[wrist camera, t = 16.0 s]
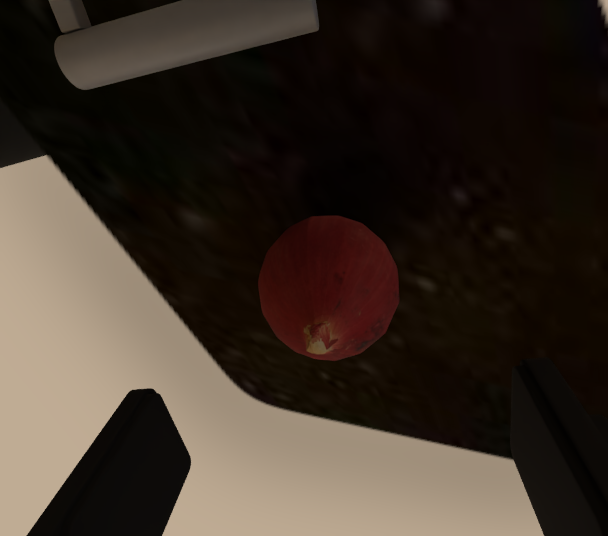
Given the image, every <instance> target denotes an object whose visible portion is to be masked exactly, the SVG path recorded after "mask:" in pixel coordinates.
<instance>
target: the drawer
mask: <svg viewBox="0 0 608 536" xmlns="http://www.w3.org/2000/svg"><path fill="white" fill-rule="evenodd" d="M49 3H50V5H51V8H52V10H53V12H54V15H55V17H56V20H57V22H58V24H59V27H60V29H61V31H62V32H63V33H68V34H65V35H62V36H59V37H58V38H57V39H56V41H55V45H54V50H55V55H56V59H57V61H58V64H59V66H60V68H61V70H62V72H63V73H64V75H65V76H66V77H67V79H68V80H69V81H70V82H71V83H72V84H73V85H75V86H76V87H78V88H80V89H83V90H88V89H92V88H96V87H100V86H104V85H108V84H112V83H115V82H119V81H123V80H127V79H131V78H135V77H139V76H143V75H147V74H151V73H155V72H158V71H162V70H166V69H170V68H174V67H178V66H182V65H186V64H190V63H194V62H197V61H201V60H205V59H209V58H213V57H217V56H221V55H225V54H229V53H233V52H236V51H240V50H244V49H248V48H252V47H256V46H260V45H264V44H268V43H272V42H275V41H279V40H283V39H287V38H291V37H295V36H299V35H303V34H307V33H311V32H314V31H318V30H319V21H318V13H317V6H316V0H182V1H179V2H175V3H172V4H168V5H165V6H161V7H158V8H155V9H151V10H148V11H144V12H141V13H137V14H134V15H130V16H127V17H124V18H120V19H117V20H113V21H110V22H106V23H103V24H99V25H96V26H93V27H91V24H90V21H89V19H88V16H87V14H86V11H85V8H84V6H83V3H82V0H49Z"/></svg>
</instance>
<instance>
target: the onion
mask: <svg viewBox="0 0 608 536" xmlns="http://www.w3.org/2000/svg"><path fill="white" fill-rule="evenodd" d="M258 287H259V294H260V301H261V308H262V313H263V315H264V317H265V318H266V320H267V321H268V323H269V325H270V326H271V328H272V330H273V331H274V333H275V335H276V336H277V338H279V339H280V340H281V341H282V342H284V343H285V344H286V345H287V346H289V347H290V348H291V349H292V350H294V351H295V352H297V353H300V354H303V355H306V356H309V357H311V358H314V359H321V360H332V361H336V360H340V359H343V358H347V357H350V356H353V355H357V354H360V353H362V352H363V351H364V350H365V349H366V348H368V347H369V346H370V345H371V344H373V343H374V342H375V341H376V340H378V339H379V338H380V337H381V336H382V335H384V334H385V333H386V330H387V328H388V326H389V323H390V321H391V319H392V317H393V315H394V312H395V310H396V308H397V306H398V303H399V284H398V271H397V266H396V264H395V262H394V260H393V258H392V256H391V254H390V252H389V250H388V249H387V247H386V245H385V243H384V242H383V241H382V240H381V239H380V238H379V237H378V236H376V235H375V234H374V233H373V232H372V231H371V230H369V229H368V228H367V227H366V226H365V225H364V224H363V223H360V222H357V221H354V220H351V219H348V218H344V217H341V216H338V215H335V216H311V217H309V218H307V219H305V220H303V221H301V222H299V223H297V224H294V225H292V226H290V227H288V229H287V230H286V231H285V232H284V233H283V234H282V235H281V236H280V237H279V238H278V240H277V241H276V242H275V243H274V244H273V245H272V246H271V248H270V249H269V250H268V251H267V253H266V256H265V259H264V262H263V265H262V268H261V272H260V275H259V280H258Z"/></svg>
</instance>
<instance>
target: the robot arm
mask: <svg viewBox="0 0 608 536" xmlns="http://www.w3.org/2000/svg"><path fill="white" fill-rule="evenodd" d="M510 446H511V452H512V456H513V459H514V462H515V464H516V467H517V469H518V471H519V474H520V477H521V479H522V482H523V484H524V487H525V489H526V492H527V494H528V496H529V499H530V501H531V504H532V506H533V509H534V511H535V514H536V516H537V519H538V521H539V524H540V526H541V529H542V531H543V534H544V536H608V420H607V419H606V418H605V417H603V416H602V415H588V414H587V413H586V411H585V410H584V408H583V407H582V405H581V404H580V402H579V401H578V399H577V398H576V396H575V395H574V393H573V392H572V390H571V389H570V387H569V386H568V384H567V383H566V381H565V380H564V378H563V377H562V375H561V374H560V372H559V371H558V369H557V368H556V366H555V365H554V363H553V362H552V361H551V360H550V359H549V358H537V359H524V360H521V362H520V366H515V367H513V369H512V399H511V438H510ZM190 466H191V458H190V455H189V453H188V451H187V449H186V447H185V445H184V442H183V440H182V438H181V436H180V434H179V432H178V430H177V428H176V426H175V424H174V422H173V420H172V418H171V416H170V414H169V411H168V409H167V407H166V406H165V403H164V401H163V399H162V397H161V395H160V394H158V393H156V392H155V390H154V389H137V390H132V391H130V392H129V393H128V394H127V395H126V397H125V398H124V400H123V401H122V402H121V404H120V405H119V407H118V408H117V409H116V411H115V412H114V414H113V415H112V417H111V418H110V419H109V421H108V422H107V423H106V425H105V426H104V428H103V429H102V431H101V432H100V433H99V435H98V436H97V437H96V439H95V440H94V442H93V443H92V445H91V446H90V447H89V449H88V450H87V452H86V453H85V454H84V456H83V457H82V459H81V460H80V461H79V463H78V464H77V466H76V467H75V468H74V470H73V471H72V473H71V474H70V476H69V477H68V478H67V480H66V481H65V483H64V484H63V485H62V487H61V488H60V490H59V491H58V492H57V494H56V495H55V497H54V498H53V499H52V501H51V502H50V504H49V505H48V506H47V508H46V509H45V511H44V512H43V514H42V515H41V516H40V518H39V519H38V521H37V522H36V523H35V525H34V526H33V527H32V529H31V530H30V532H29V533H28V535H27V536H162V534H163V532H164V529H165V527H166V525H167V523H168V520H169V517H170V515H171V513H172V511H173V508H174V506H175V503H176V501H177V499H178V496H179V494H180V492H181V489H182V487H183V484H184V482H185V480H186V477H187V475H188V473H189V470H190Z"/></svg>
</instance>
